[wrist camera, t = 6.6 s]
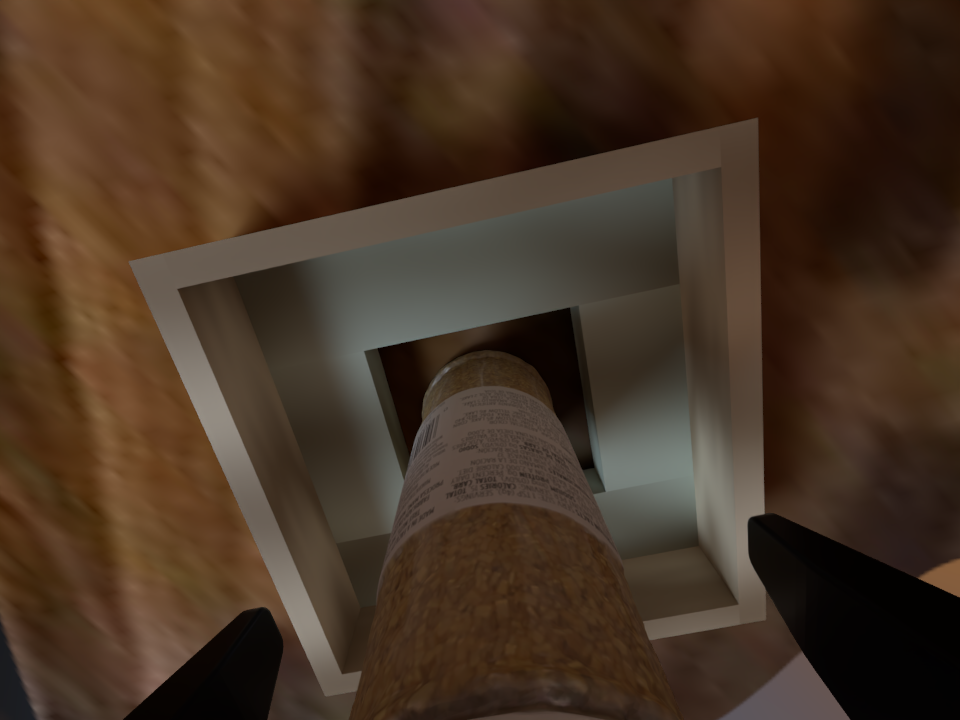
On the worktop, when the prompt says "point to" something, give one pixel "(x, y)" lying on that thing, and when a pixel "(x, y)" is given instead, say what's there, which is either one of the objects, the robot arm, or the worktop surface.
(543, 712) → the sprinkles bottle
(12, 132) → the worktop surface
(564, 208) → the peg box
